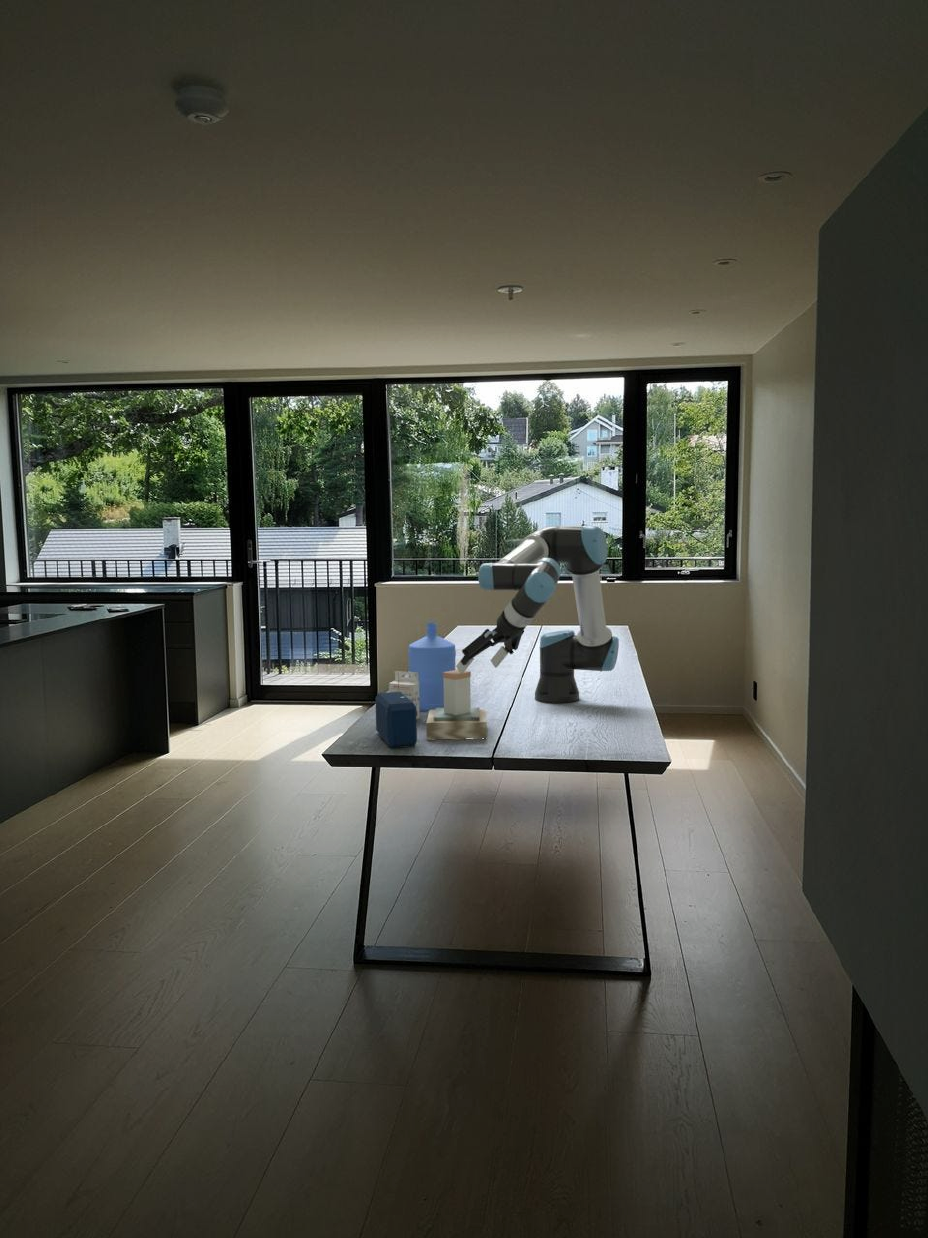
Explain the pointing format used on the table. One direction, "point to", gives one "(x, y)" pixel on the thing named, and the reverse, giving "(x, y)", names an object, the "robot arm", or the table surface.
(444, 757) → the table surface
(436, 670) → the water jug
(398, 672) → the ink cartridge box
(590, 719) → the table surface
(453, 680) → the plate
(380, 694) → the radio
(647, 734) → the table surface
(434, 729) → the birch tray
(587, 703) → the table surface
